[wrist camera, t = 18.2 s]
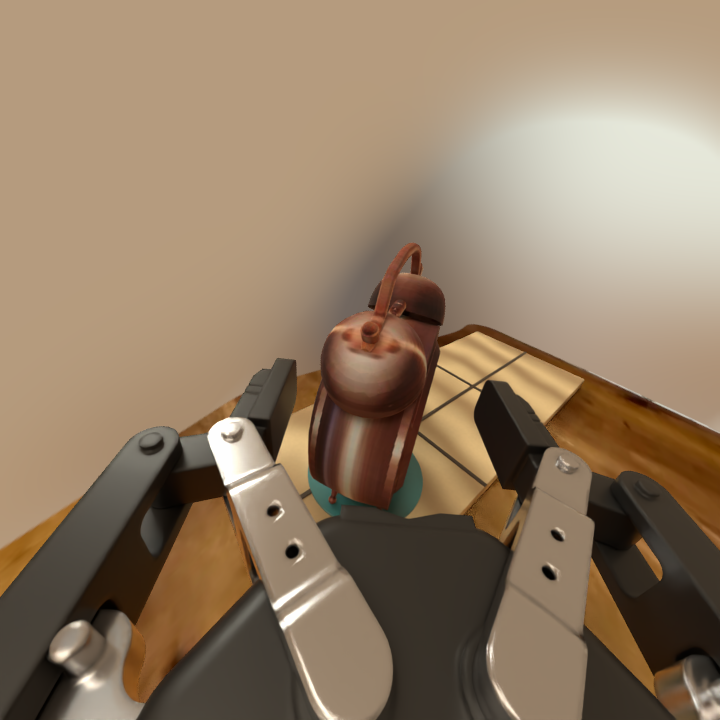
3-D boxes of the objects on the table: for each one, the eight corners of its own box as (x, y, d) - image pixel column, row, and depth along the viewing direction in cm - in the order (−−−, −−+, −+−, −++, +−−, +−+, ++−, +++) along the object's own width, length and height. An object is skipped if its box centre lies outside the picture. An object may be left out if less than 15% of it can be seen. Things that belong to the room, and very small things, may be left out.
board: (368, 618, 15) (372, 607, 14) (248, 444, 23) (247, 431, 23) (580, 387, 35) (586, 378, 35) (474, 338, 44) (477, 330, 43)
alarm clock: (363, 412, 26) (389, 224, 18) (418, 430, 25) (472, 237, 17) (298, 531, 17) (294, 261, 9) (379, 567, 16) (457, 295, 8)
